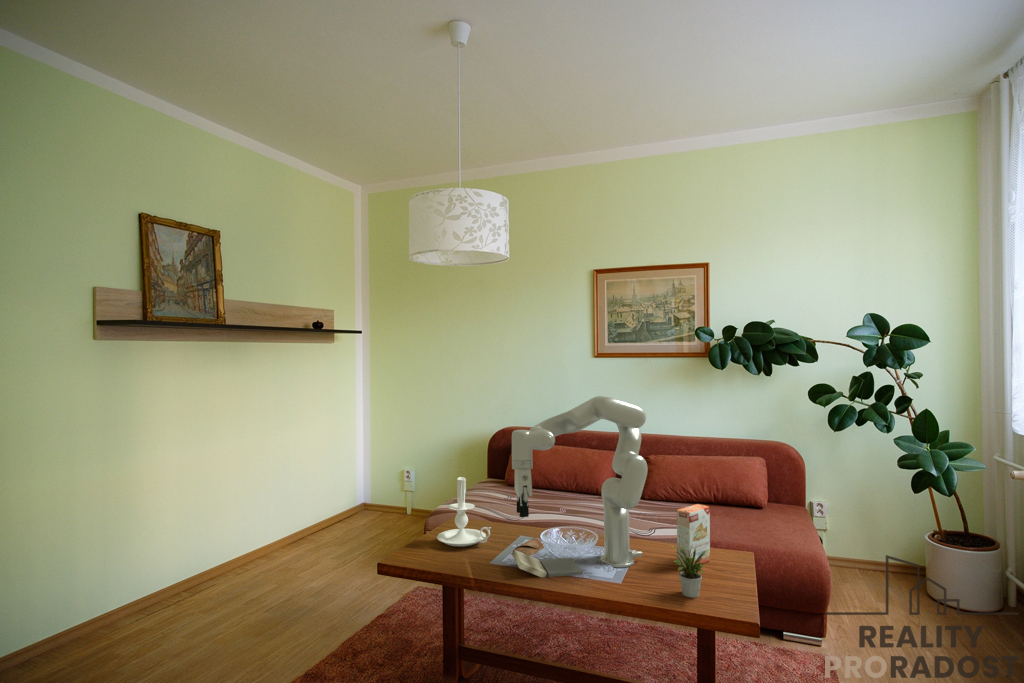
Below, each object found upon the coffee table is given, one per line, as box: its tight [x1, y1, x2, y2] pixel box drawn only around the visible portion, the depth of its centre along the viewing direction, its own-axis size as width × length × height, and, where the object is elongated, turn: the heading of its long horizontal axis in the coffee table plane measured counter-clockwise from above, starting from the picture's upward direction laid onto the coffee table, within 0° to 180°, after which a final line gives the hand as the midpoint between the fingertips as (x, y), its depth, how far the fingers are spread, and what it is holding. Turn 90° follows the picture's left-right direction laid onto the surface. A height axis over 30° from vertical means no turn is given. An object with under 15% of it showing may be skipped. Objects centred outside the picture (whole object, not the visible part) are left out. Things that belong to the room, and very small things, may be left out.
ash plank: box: [512, 549, 549, 578], centre depth 202 cm, size 11×14×2 cm
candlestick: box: [436, 476, 492, 548], centre depth 235 cm, size 21×25×28 cm
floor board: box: [539, 557, 583, 578], centre depth 204 cm, size 12×14×2 cm
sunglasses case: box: [512, 536, 544, 556], centre depth 225 cm, size 18×7×7 cm
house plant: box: [666, 544, 708, 598], centre depth 183 cm, size 14×14×16 cm
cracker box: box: [676, 503, 711, 567], centre depth 211 cm, size 14×6×21 cm, turn 129°
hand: (522, 514), depth 202 cm, fingers open, 5 cm apart
